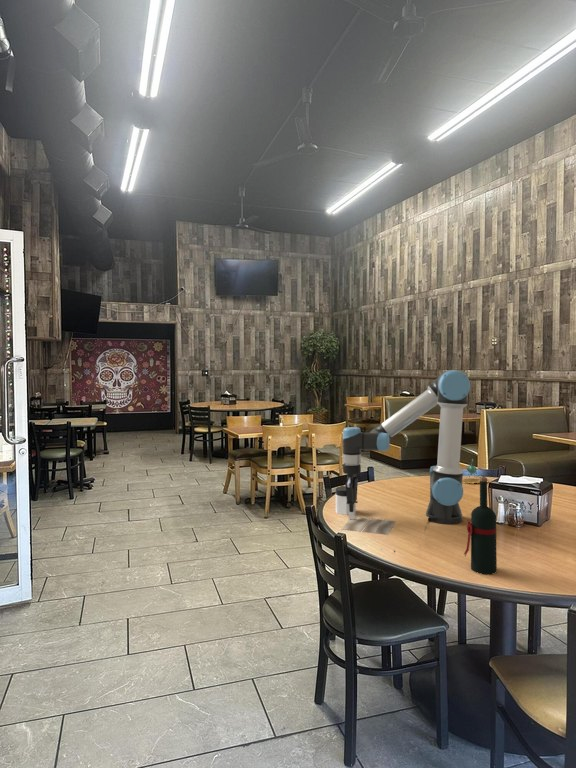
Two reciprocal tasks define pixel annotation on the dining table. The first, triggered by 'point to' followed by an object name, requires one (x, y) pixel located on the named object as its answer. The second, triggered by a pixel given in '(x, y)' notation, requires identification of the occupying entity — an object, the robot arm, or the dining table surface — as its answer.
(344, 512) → the jar
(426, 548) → the dining table surface
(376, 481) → the dining table surface
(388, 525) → the grey flat panel
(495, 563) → the wine bottle
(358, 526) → the plank
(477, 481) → the frog figurine
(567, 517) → the dining table surface
